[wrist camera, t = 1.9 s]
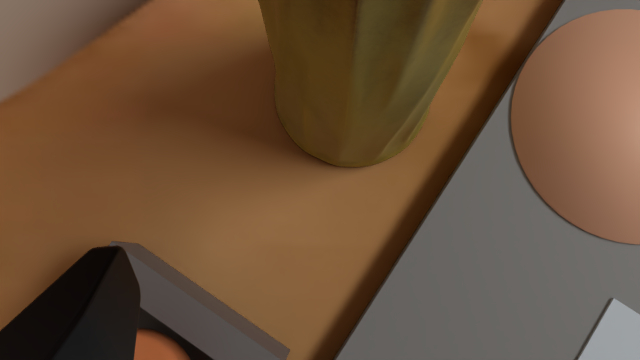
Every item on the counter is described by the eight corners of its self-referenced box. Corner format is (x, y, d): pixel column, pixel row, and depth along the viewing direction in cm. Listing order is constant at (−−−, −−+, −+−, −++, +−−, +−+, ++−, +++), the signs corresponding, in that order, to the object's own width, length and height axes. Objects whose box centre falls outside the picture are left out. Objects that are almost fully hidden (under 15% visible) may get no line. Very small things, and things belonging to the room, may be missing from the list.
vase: (270, 164, 21) (147, -44, 7) (279, 16, 22) (188, -445, 8) (428, 171, 21) (648, -26, 6) (430, 22, 21) (626, -437, 7)
